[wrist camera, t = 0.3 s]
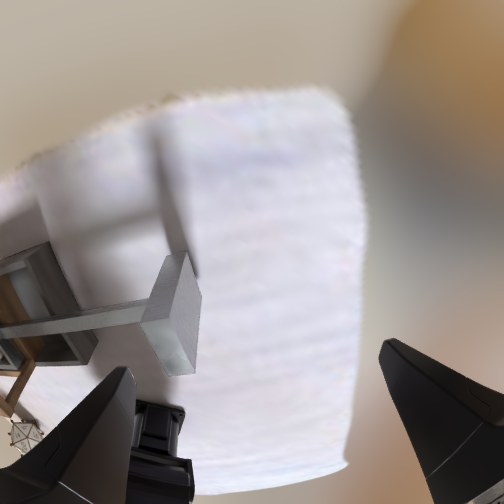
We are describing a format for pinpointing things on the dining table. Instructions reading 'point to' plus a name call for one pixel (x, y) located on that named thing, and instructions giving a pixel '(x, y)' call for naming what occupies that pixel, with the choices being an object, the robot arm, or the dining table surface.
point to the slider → (132, 320)
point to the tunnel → (39, 316)
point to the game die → (25, 436)
